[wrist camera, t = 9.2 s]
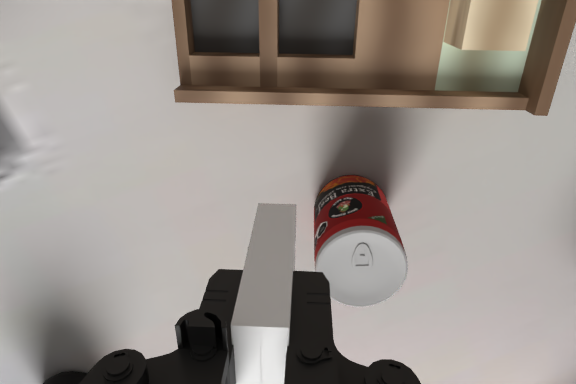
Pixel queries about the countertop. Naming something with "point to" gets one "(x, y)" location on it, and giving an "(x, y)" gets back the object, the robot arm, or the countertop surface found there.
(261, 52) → the track
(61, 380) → the coffee jar
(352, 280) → the canned food
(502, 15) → the maple block
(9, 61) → the countertop surface
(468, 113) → the countertop surface
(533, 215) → the countertop surface
